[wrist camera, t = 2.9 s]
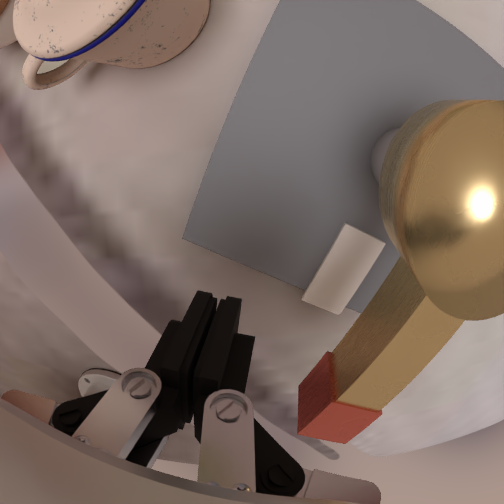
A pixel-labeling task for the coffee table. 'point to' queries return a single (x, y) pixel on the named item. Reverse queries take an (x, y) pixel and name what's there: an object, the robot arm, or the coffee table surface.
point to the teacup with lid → (102, 33)
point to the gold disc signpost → (420, 264)
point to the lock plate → (328, 140)
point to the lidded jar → (6, 23)
